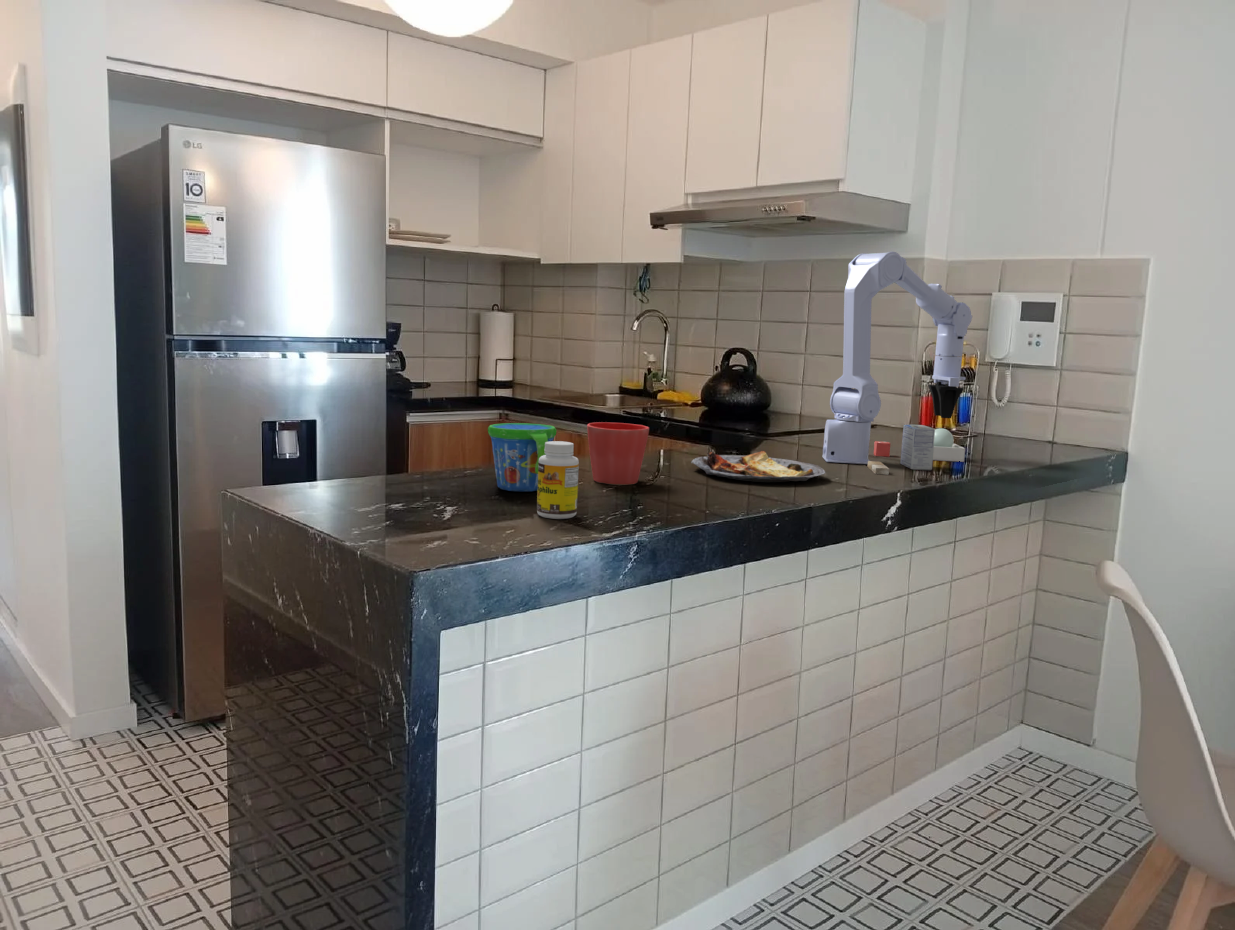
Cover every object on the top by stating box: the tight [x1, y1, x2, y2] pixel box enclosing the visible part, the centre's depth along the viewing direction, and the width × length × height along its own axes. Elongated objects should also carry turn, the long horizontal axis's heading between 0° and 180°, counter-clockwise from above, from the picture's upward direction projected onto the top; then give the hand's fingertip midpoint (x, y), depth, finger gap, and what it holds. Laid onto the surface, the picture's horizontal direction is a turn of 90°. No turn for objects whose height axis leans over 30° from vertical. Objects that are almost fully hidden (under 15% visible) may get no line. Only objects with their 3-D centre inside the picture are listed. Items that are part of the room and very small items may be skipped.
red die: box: [873, 440, 891, 458], centre depth 210 cm, size 3×3×3 cm
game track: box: [867, 460, 890, 476], centre depth 186 cm, size 2×10×1 cm, turn 174°
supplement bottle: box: [536, 440, 580, 520], centre depth 128 cm, size 6×6×10 cm
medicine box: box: [900, 424, 936, 471], centre depth 193 cm, size 8×4×9 cm, turn 179°
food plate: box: [690, 450, 826, 483], centre depth 174 cm, size 25×23×4 cm
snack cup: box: [487, 422, 557, 493], centre depth 147 cm, size 16×10×10 cm
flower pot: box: [586, 421, 650, 486], centre depth 159 cm, size 11×11×10 cm
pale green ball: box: [934, 427, 955, 447], centre depth 210 cm, size 6×6×6 cm
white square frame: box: [933, 443, 966, 463], centre depth 210 cm, size 9×9×3 cm
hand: (942, 416), depth 209 cm, fingers open, 5 cm apart
